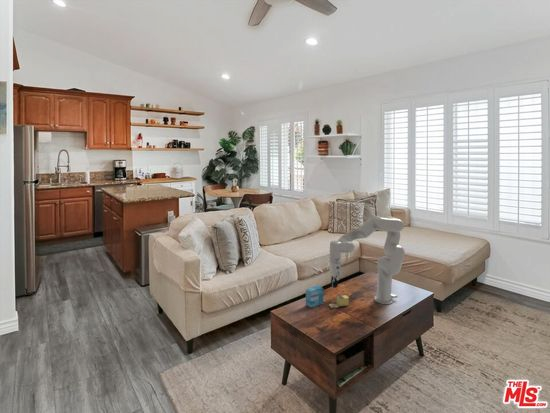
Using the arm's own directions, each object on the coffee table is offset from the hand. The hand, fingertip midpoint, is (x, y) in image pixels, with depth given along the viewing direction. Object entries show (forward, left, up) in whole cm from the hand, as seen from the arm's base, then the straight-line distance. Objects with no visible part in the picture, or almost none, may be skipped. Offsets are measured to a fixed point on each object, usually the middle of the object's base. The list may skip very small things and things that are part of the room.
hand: (334, 285), depth 226 cm
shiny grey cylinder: (0, 0, -1) cm, 1 cm away
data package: (+12, -5, -15) cm, 20 cm away
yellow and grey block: (-7, -2, -15) cm, 17 cm away
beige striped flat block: (0, 0, -15) cm, 15 cm away
